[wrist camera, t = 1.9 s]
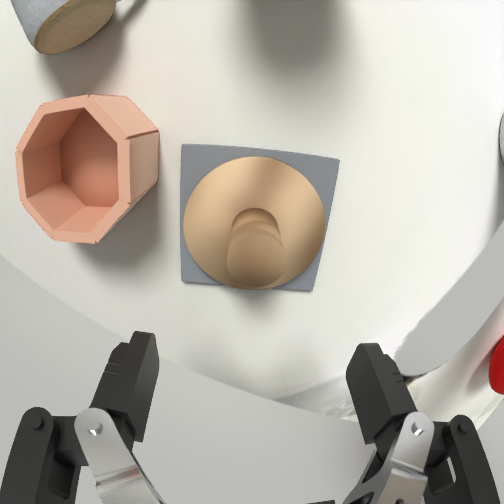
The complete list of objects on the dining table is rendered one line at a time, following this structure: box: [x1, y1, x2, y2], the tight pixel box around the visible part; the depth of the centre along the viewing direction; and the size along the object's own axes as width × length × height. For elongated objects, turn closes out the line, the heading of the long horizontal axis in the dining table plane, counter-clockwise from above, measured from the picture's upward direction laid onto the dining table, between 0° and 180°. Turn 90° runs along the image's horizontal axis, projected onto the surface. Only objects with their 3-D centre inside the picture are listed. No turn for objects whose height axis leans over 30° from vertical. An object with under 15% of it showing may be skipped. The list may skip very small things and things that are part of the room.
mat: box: [180, 144, 340, 291], centre depth 23 cm, size 12×12×1 cm
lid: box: [183, 156, 325, 290], centre depth 20 cm, size 11×11×6 cm
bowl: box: [15, 94, 159, 244], centre depth 18 cm, size 10×10×6 cm
